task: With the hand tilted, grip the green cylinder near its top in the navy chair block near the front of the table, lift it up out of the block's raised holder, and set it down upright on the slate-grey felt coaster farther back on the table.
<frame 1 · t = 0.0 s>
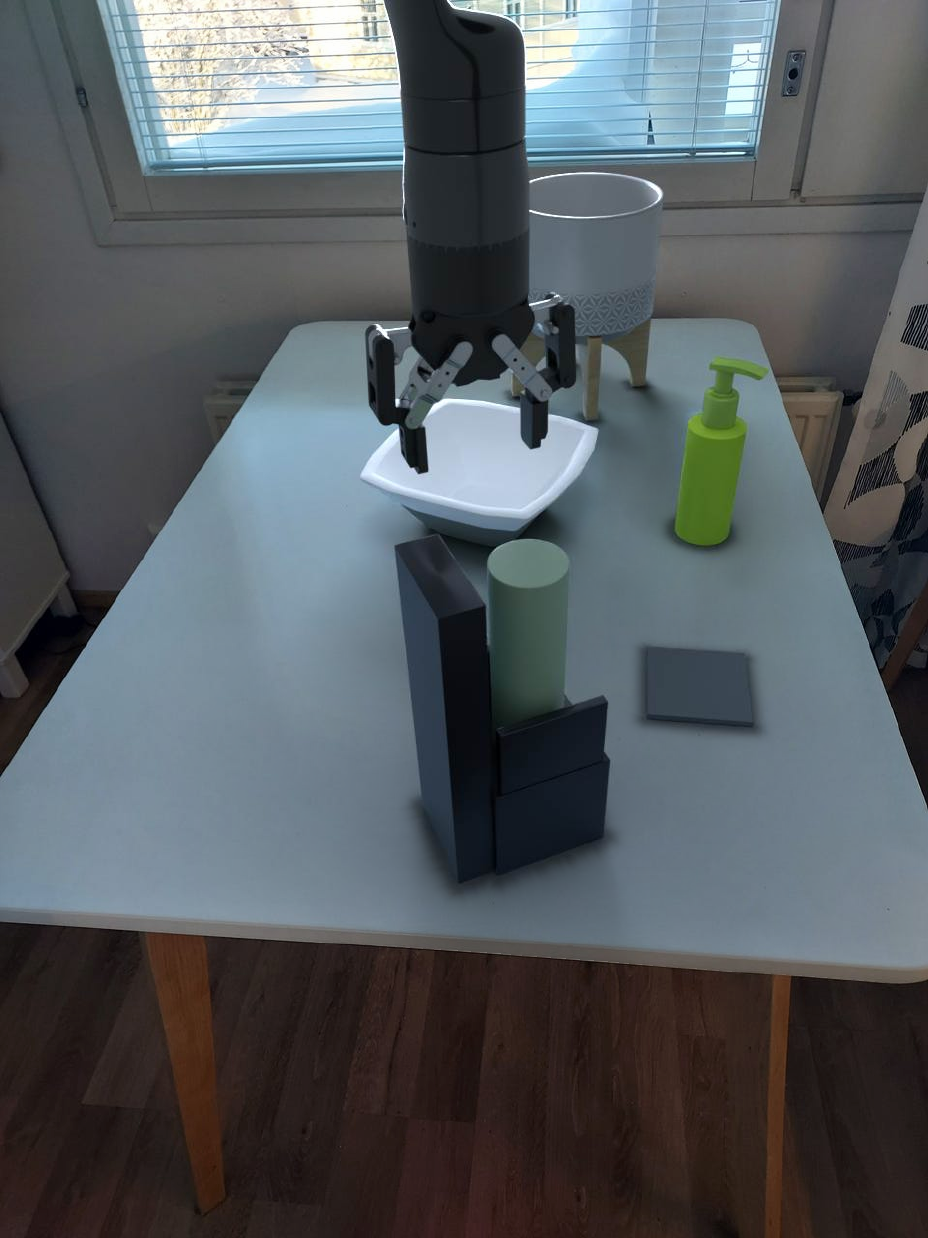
hand: (476, 455, 67), 26 cm above the table, tool pointing down, fingers open, 8 cm apart
planter: (578, 389, 131), on the table
bowl: (484, 517, 107), on the table
soap dispenser: (705, 533, 103), on the table
navy chair block: (527, 812, 74), on the table
coaster: (697, 687, 85), on the table
green cylinder: (527, 736, 69), point 9 cm above the table, touching navy chair block
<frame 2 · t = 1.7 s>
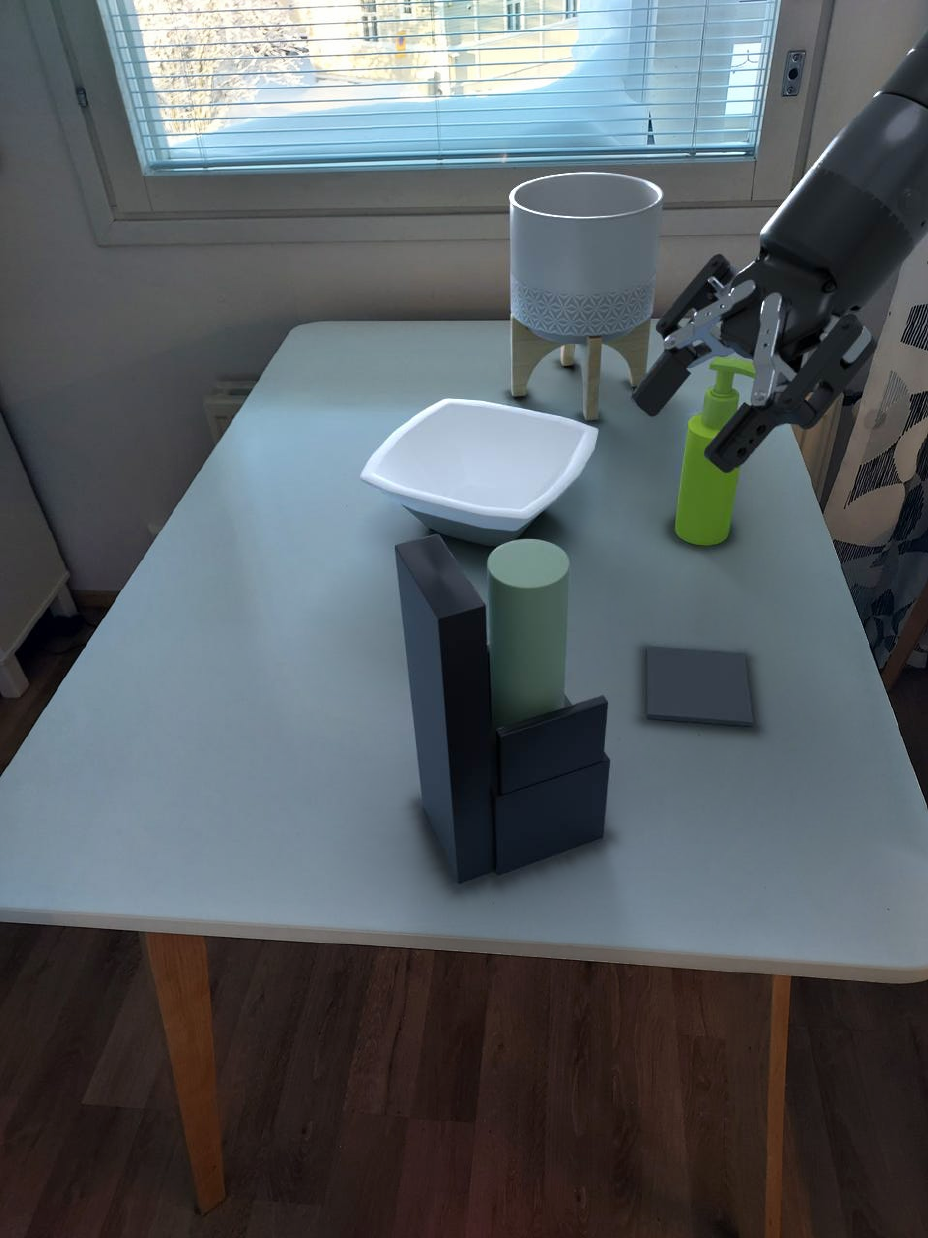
hand: (675, 435, 58), 31 cm above the table, tool tilted 45°, fingers open, 8 cm apart
nothing on the table moved.
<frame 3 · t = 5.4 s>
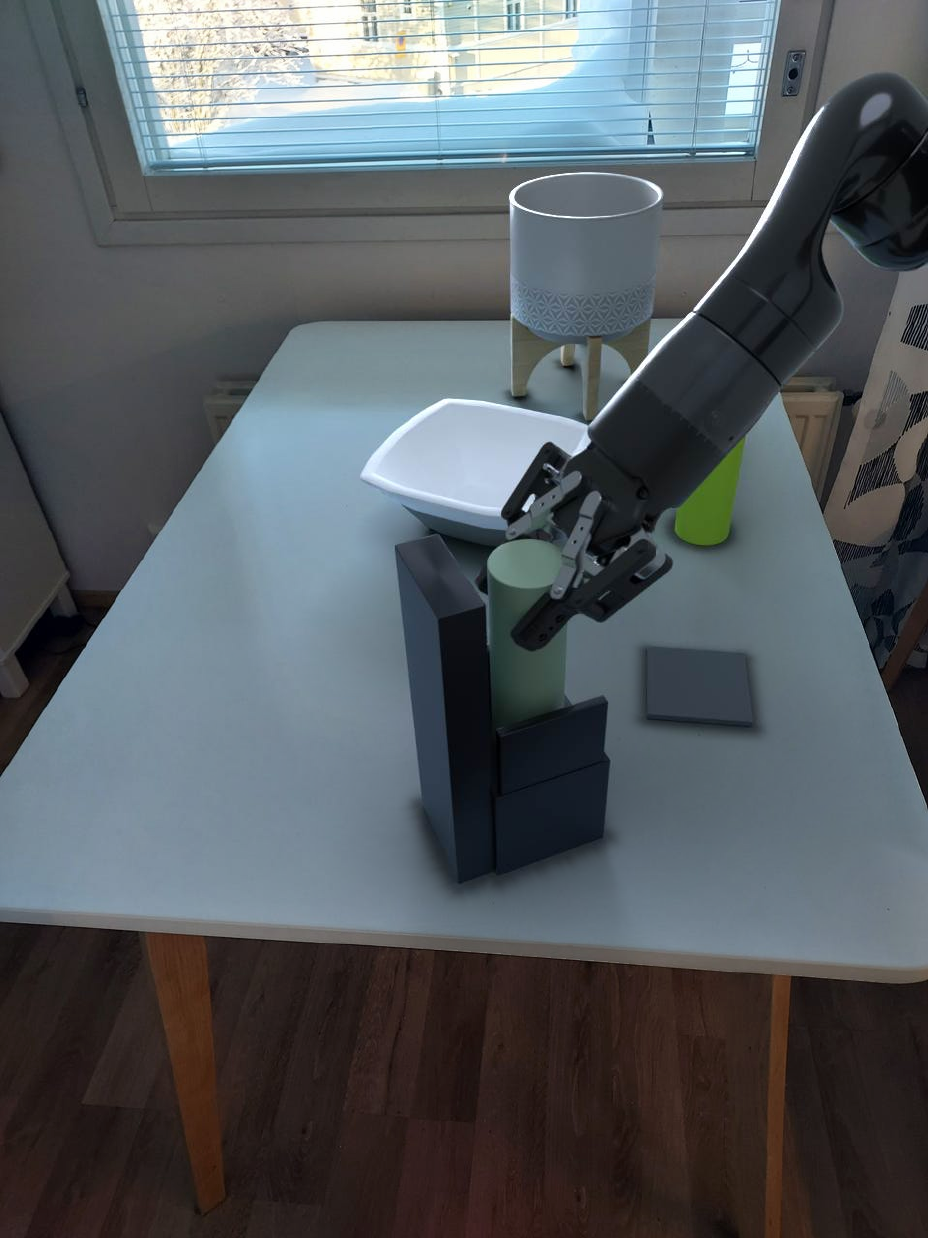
hand: (502, 616, 60), 21 cm above the table, tool tilted 45°, fingers closed on green cylinder, 5 cm apart
green cylinder: (527, 736, 69), point 9 cm above the table, touching gripper, navy chair block
everything else where it was.
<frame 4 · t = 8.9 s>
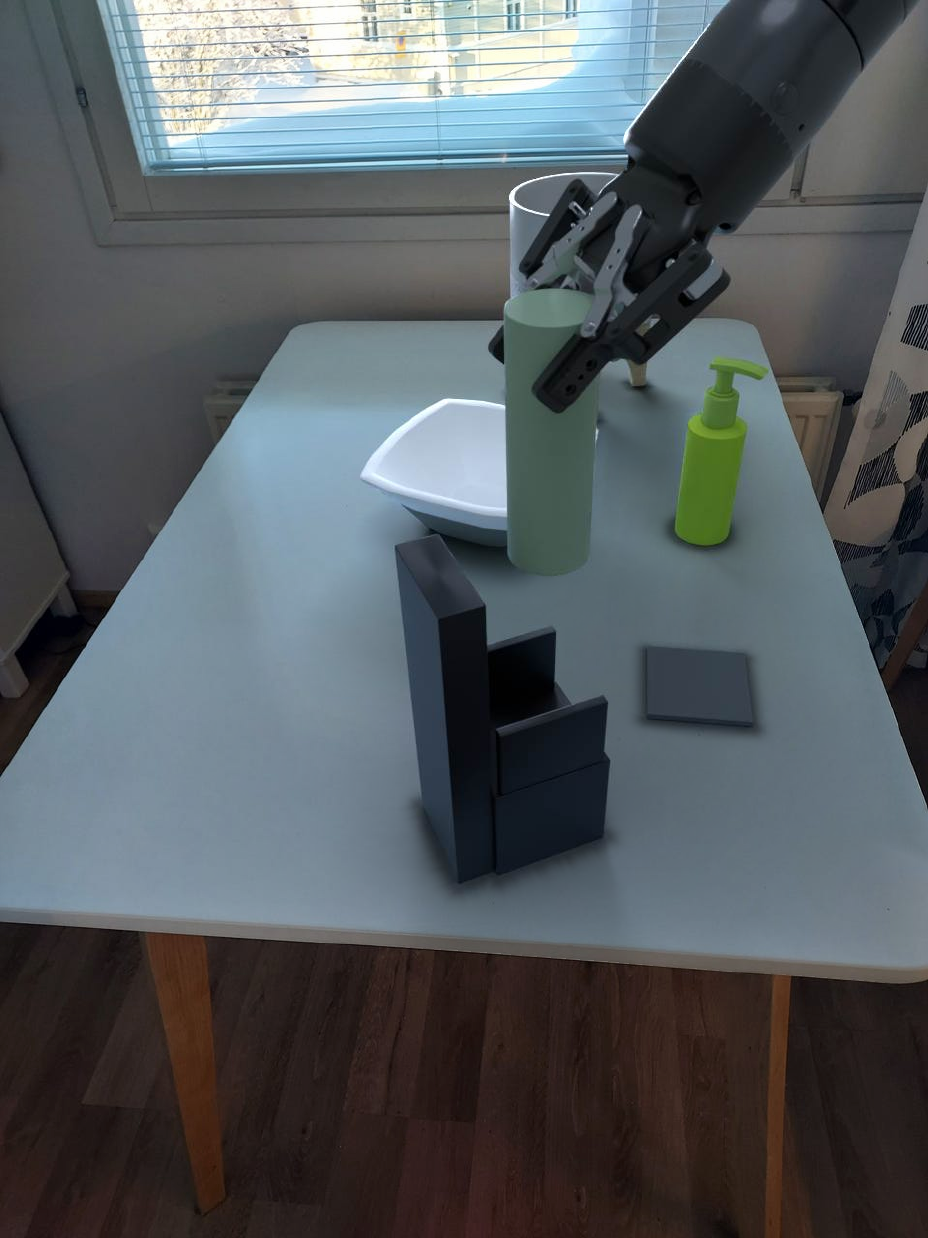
hand: (521, 380, 51), 37 cm above the table, tool tilted 45°, fingers closed on green cylinder, 5 cm apart
green cylinder: (548, 552, 59), point 25 cm above the table, touching gripper
everything else where it was.
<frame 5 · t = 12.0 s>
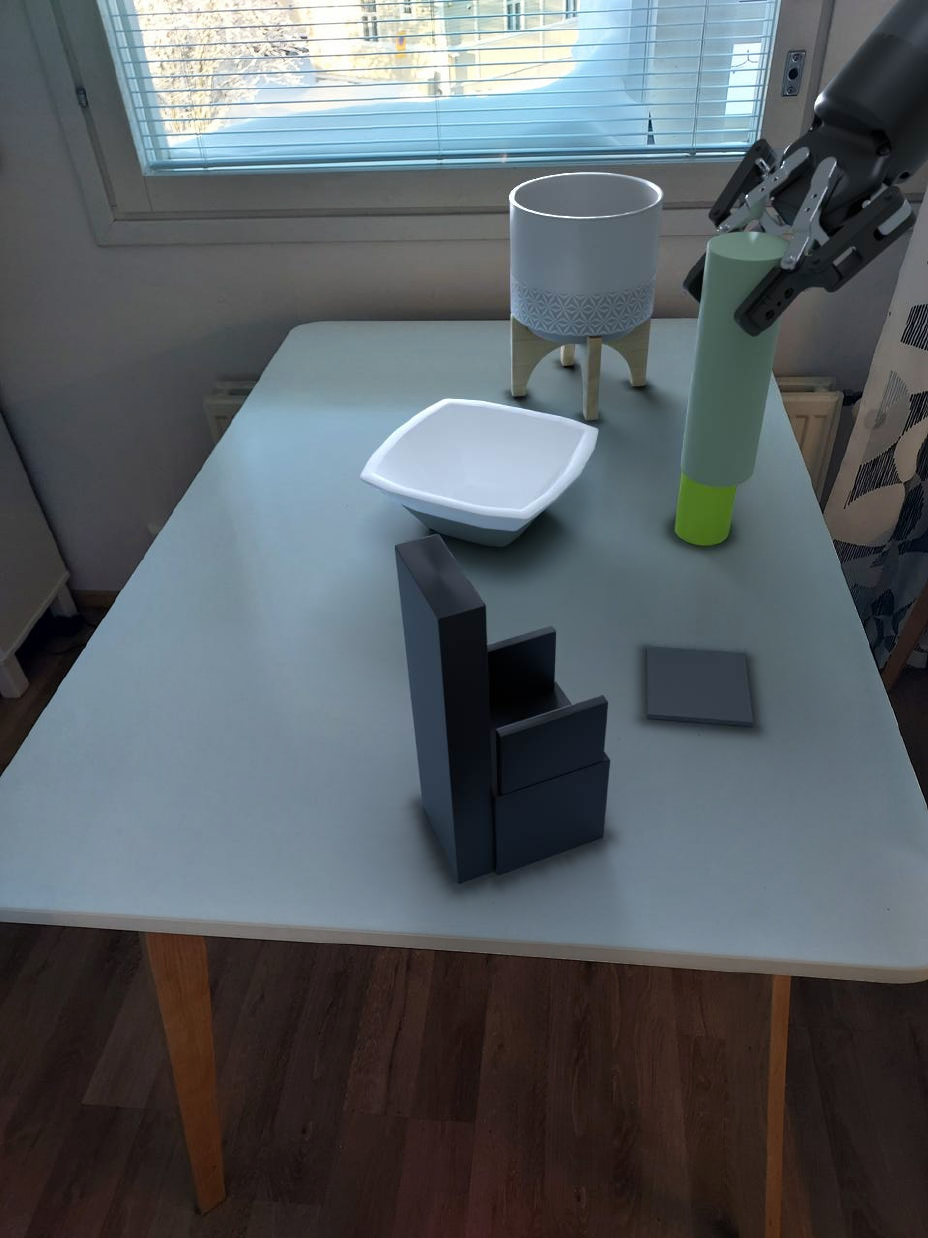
hand: (717, 310, 60), 36 cm above the table, tool tilted 45°, fingers closed on green cylinder, 5 cm apart
green cylinder: (716, 468, 68), point 24 cm above the table, touching gripper
everything else where it was.
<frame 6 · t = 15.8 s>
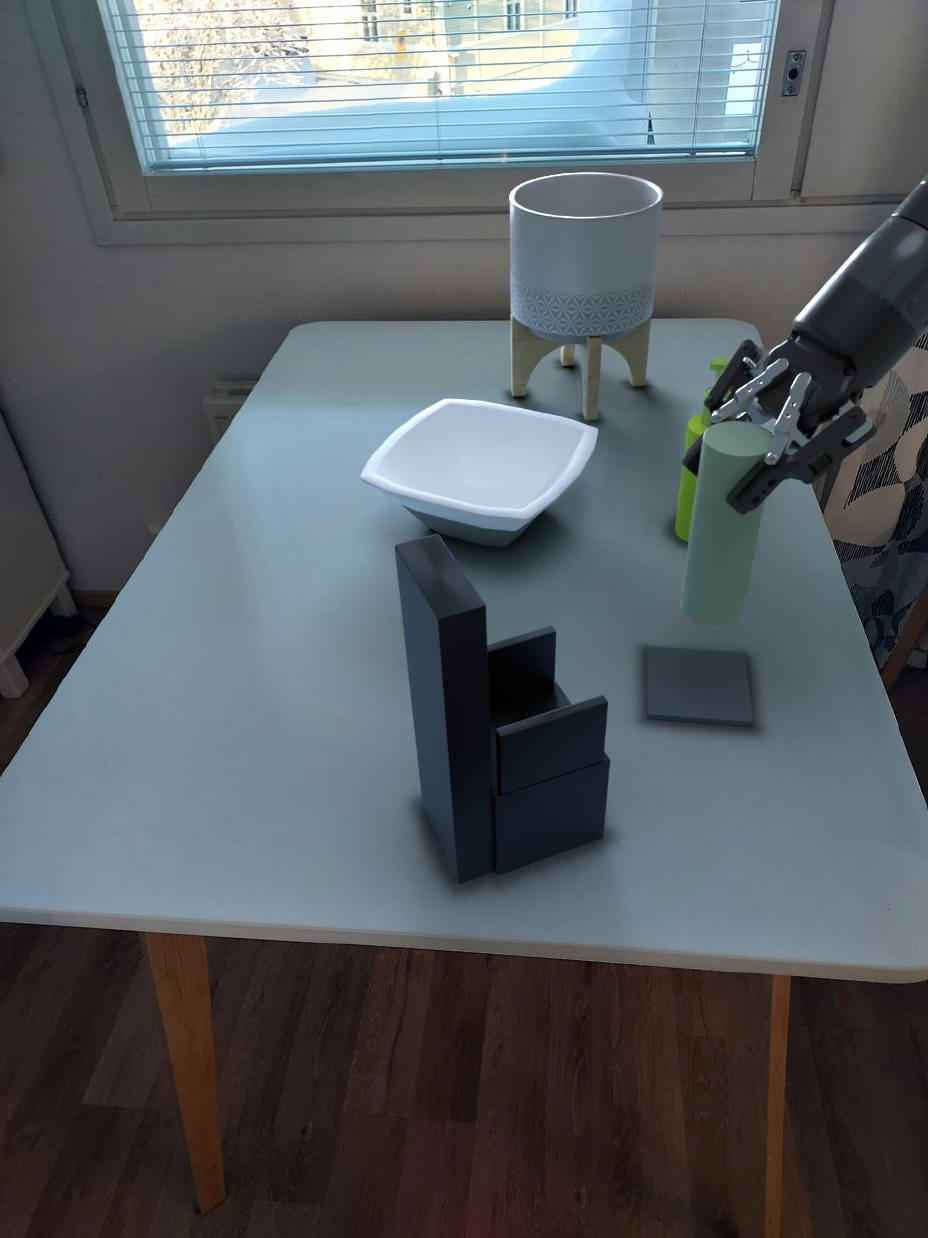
hand: (711, 488, 70), 22 cm above the table, tool tilted 45°, fingers closed on green cylinder, 5 cm apart
green cylinder: (711, 606, 78), point 10 cm above the table, touching gripper
everything else where it was.
when the fingers open (13 cm above the table, at t = 18.7 s): green cylinder stays where it is, resting on coaster.
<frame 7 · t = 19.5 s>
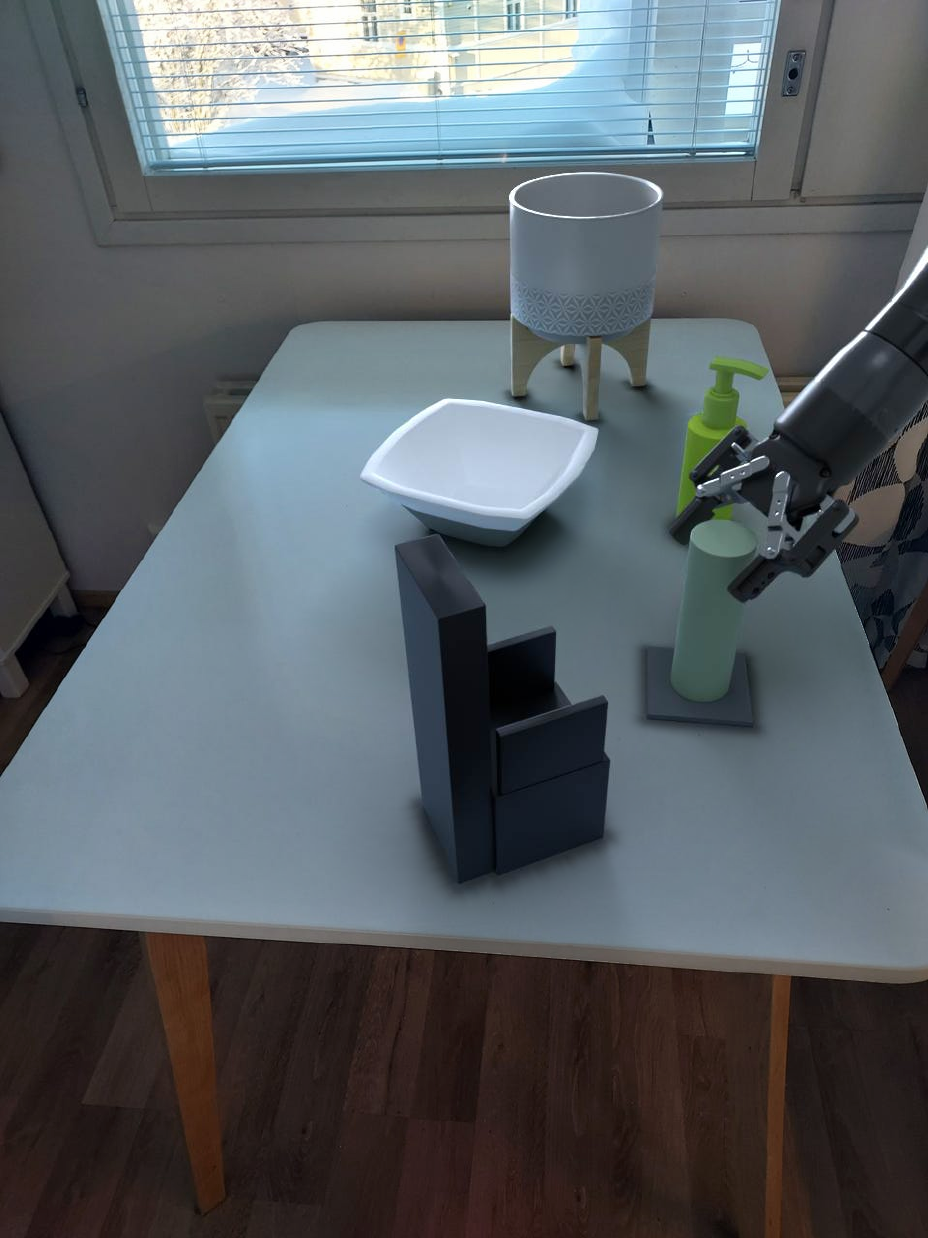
hand: (703, 567, 75), 14 cm above the table, tool tilted 45°, fingers open, 8 cm apart
green cylinder: (699, 682, 84), point 1 cm above the table, touching coaster
everything else where it was.
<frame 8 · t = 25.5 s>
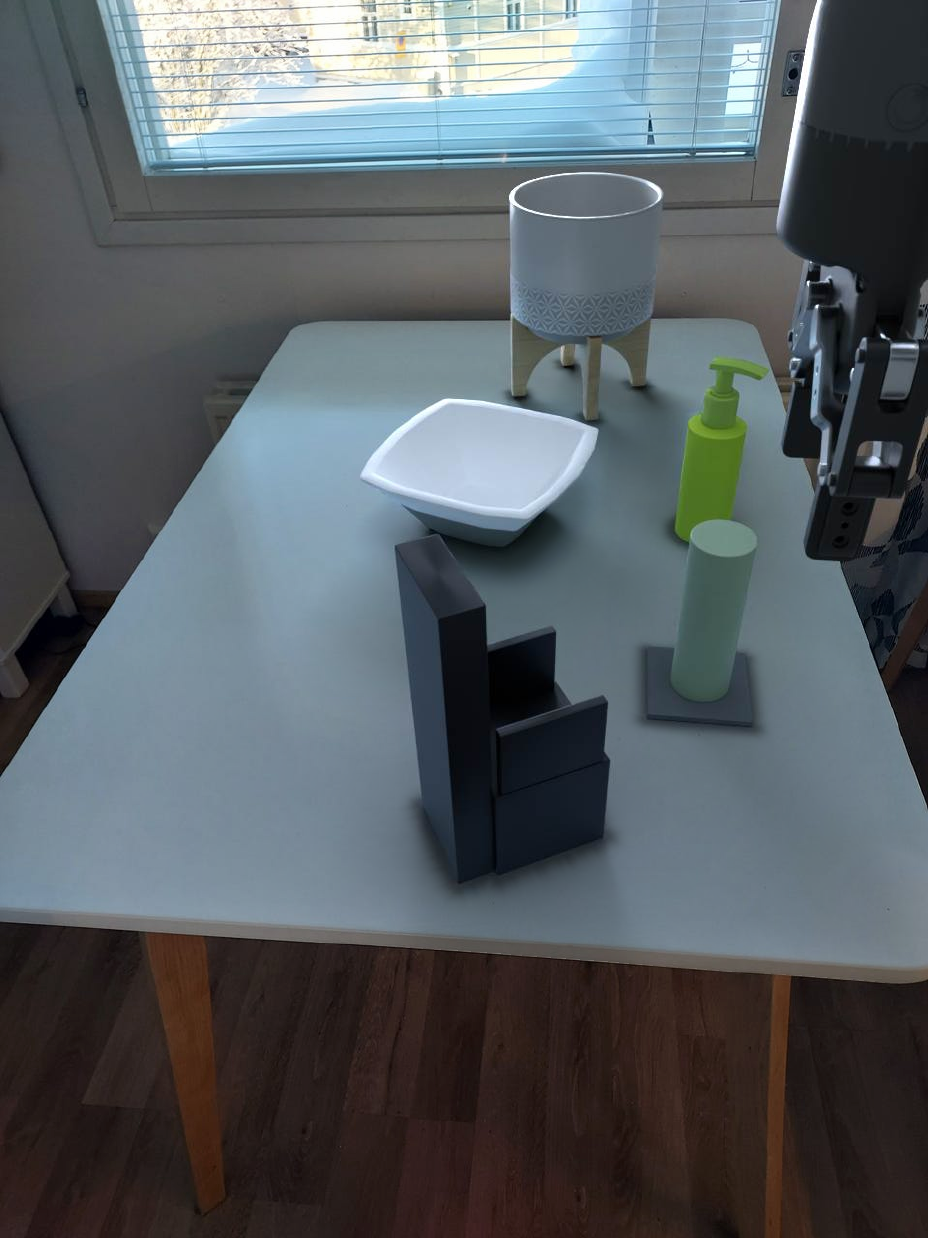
hand: (815, 501, 43), 36 cm above the table, tool pointing down, fingers open, 8 cm apart
nothing on the table moved.
at the end: green cylinder 0.1 cm off-centre on the coaster, point 0.6 cm above the coaster's base; green cylinder tilted 0°; green cylinder touching coaster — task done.
